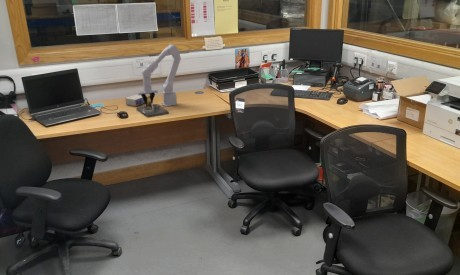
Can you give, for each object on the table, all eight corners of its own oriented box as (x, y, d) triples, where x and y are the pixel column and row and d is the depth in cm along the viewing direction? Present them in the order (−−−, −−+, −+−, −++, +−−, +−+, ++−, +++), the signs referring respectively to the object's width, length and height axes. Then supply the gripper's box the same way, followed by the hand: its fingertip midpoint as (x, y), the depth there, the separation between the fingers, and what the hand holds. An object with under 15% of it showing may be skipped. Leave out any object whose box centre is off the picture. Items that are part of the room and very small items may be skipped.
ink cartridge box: (136, 107, 291) (148, 101, 303) (135, 99, 289) (148, 94, 301) (125, 105, 295) (138, 99, 307) (125, 98, 293) (137, 92, 305)
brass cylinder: (150, 104, 296) (149, 95, 293) (152, 105, 292) (151, 96, 290) (145, 105, 294) (144, 96, 291) (147, 106, 290) (146, 97, 288)
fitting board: (157, 106, 292) (156, 101, 291) (168, 113, 277) (168, 108, 276) (136, 109, 284) (136, 105, 283) (147, 117, 269) (146, 112, 267)
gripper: (154, 83, 294) (155, 100, 299) (135, 85, 287) (137, 103, 292) (158, 85, 289) (159, 102, 294) (139, 87, 281) (140, 106, 286)
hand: (148, 103), depth 292 cm, fingers closed on brass cylinder, 4 cm apart
